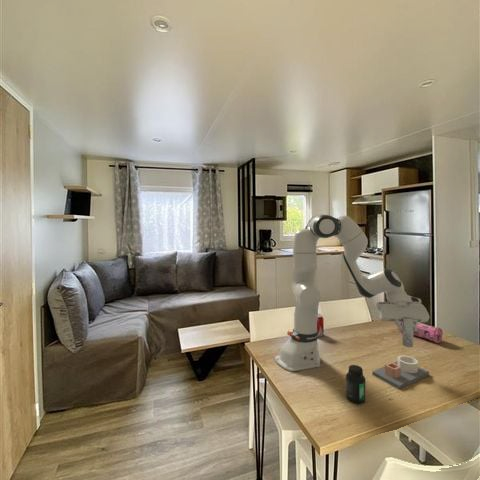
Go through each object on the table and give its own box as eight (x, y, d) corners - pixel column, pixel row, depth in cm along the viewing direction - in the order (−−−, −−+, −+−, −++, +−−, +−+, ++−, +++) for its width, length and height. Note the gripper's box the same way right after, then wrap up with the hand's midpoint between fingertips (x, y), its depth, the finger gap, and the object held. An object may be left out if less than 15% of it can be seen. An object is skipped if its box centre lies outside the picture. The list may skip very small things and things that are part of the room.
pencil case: (396, 332, 162) (396, 318, 161) (404, 329, 167) (405, 315, 166) (437, 346, 144) (437, 330, 143) (445, 342, 148) (445, 326, 148)
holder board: (399, 389, 107) (399, 375, 107) (372, 374, 118) (372, 362, 117) (428, 375, 117) (429, 362, 116) (401, 362, 127) (401, 351, 127)
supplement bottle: (366, 406, 98) (367, 374, 97) (346, 403, 99) (347, 371, 99) (363, 394, 104) (363, 364, 103) (344, 392, 106) (345, 362, 105)
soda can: (324, 337, 156) (324, 317, 156) (311, 337, 158) (311, 316, 157) (323, 333, 163) (323, 313, 163) (311, 332, 165) (311, 313, 164)
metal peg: (409, 347, 116) (410, 320, 115) (400, 344, 120) (400, 317, 119) (415, 345, 118) (415, 319, 117) (405, 342, 121) (406, 316, 121)
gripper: (377, 298, 126) (386, 326, 117) (424, 299, 123) (436, 328, 114) (373, 304, 130) (381, 332, 121) (418, 305, 128) (430, 334, 119)
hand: (408, 330), depth 118 cm, fingers closed on metal peg, 4 cm apart
